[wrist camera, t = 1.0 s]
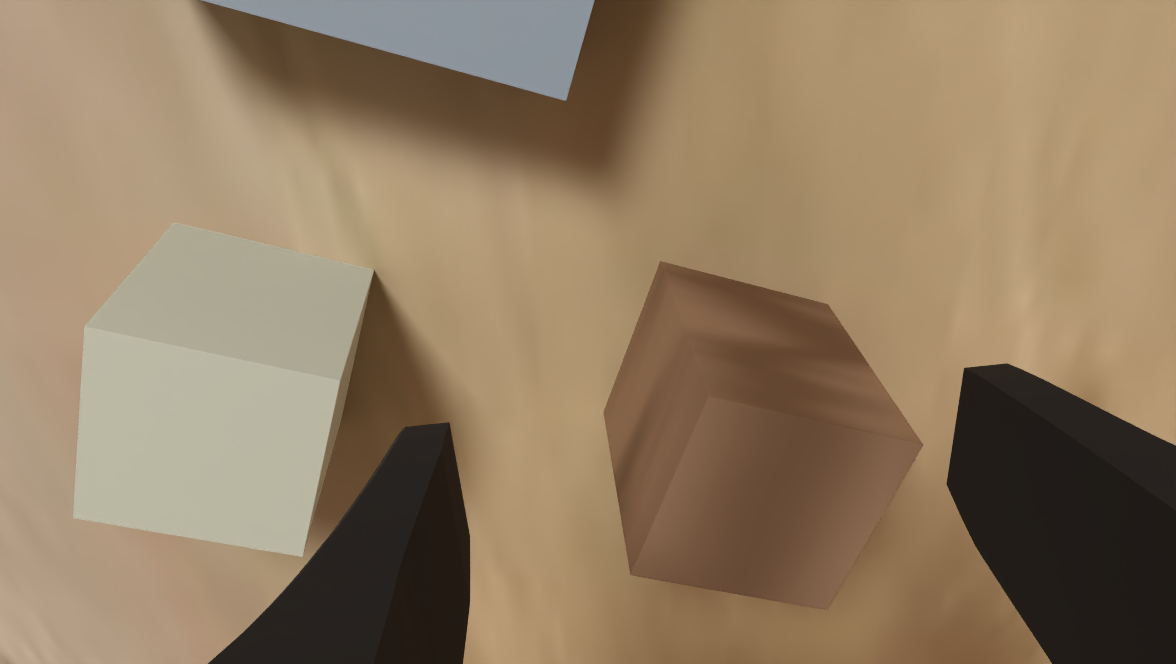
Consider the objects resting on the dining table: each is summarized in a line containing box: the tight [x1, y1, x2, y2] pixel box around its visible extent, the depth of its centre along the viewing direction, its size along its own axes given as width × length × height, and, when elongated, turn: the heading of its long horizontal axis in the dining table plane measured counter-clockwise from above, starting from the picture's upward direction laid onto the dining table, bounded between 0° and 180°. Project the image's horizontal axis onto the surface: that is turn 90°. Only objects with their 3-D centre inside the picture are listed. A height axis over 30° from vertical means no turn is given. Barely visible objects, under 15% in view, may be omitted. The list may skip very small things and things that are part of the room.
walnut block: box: [604, 261, 923, 610], centre depth 21 cm, size 4×4×6 cm
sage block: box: [73, 222, 374, 557], centre depth 20 cm, size 4×4×5 cm
